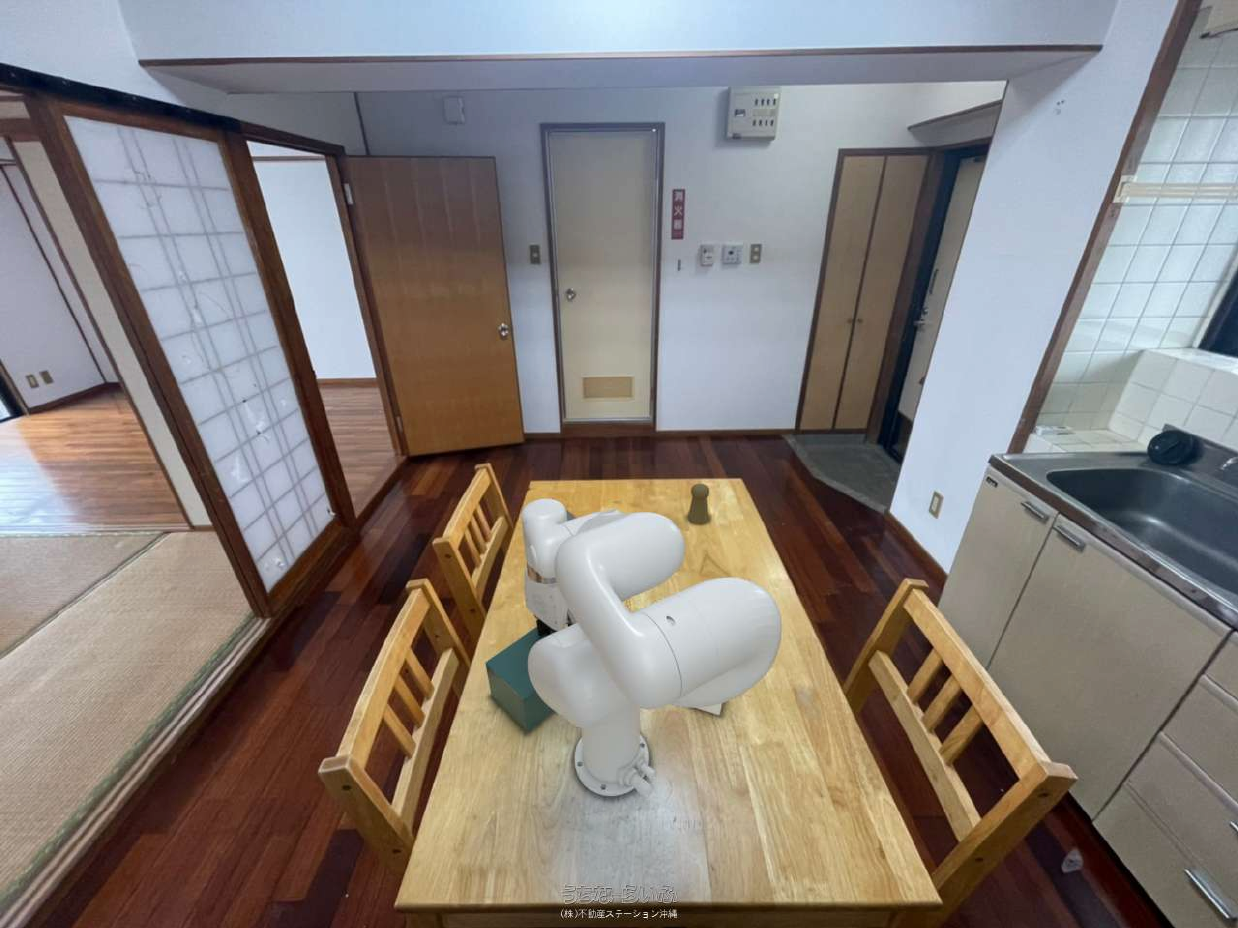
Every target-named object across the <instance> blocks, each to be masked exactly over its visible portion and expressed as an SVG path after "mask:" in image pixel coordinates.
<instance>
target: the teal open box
mask: <svg viewBox="0 0 1238 928" xmlns="http://www.w3.org/2000/svg"><path fill="white" fill-rule="evenodd" d="M485 669H486V673H487V679H488V684H489V689H490V695H491V698H492V699H494V700H495V702H497V704H498V705H499V706H501V708H502V709H504V711H505V712H506V713H508V714H509V715H510V717H511V718H512V719H513V720H514V721H515V722H516V723H517V724H518V725H519V726H520V727H521V728H522V729H523V731H525V732H526V733H529V732H530V731H531V730H533V729H534V728H535V727H536V726H537V725H539V724H540V723H541V722H542V721H543V720H544V719H546V718H547V717H548V716H549V715H550V714H552V713H553V711H554V710H553V709H552V708H550V707H549V706H548V705H547V704H546V703H545V702H544V701H543V700H542V699H541V698H540V696H539V695H538V694H537V692H536V691H535V692H534V693H533V694H532V695H530V696H529V697H528V698H527V699H525V700H524V701H522V700H521V699H520V698H519V697H518V696H517V695H516V694H515V693H514V692H513V691H512V690H511V689H510V688H509V687H508V686H507V685H506V684H504V683H503V682H502V681H501V680H500V679H499V678H498V677H497V676H496V675H495V674H494V673H493V672H492V671H491V670H490V669H489V668H488V667H487V666H486V665H485Z"/></svg>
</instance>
